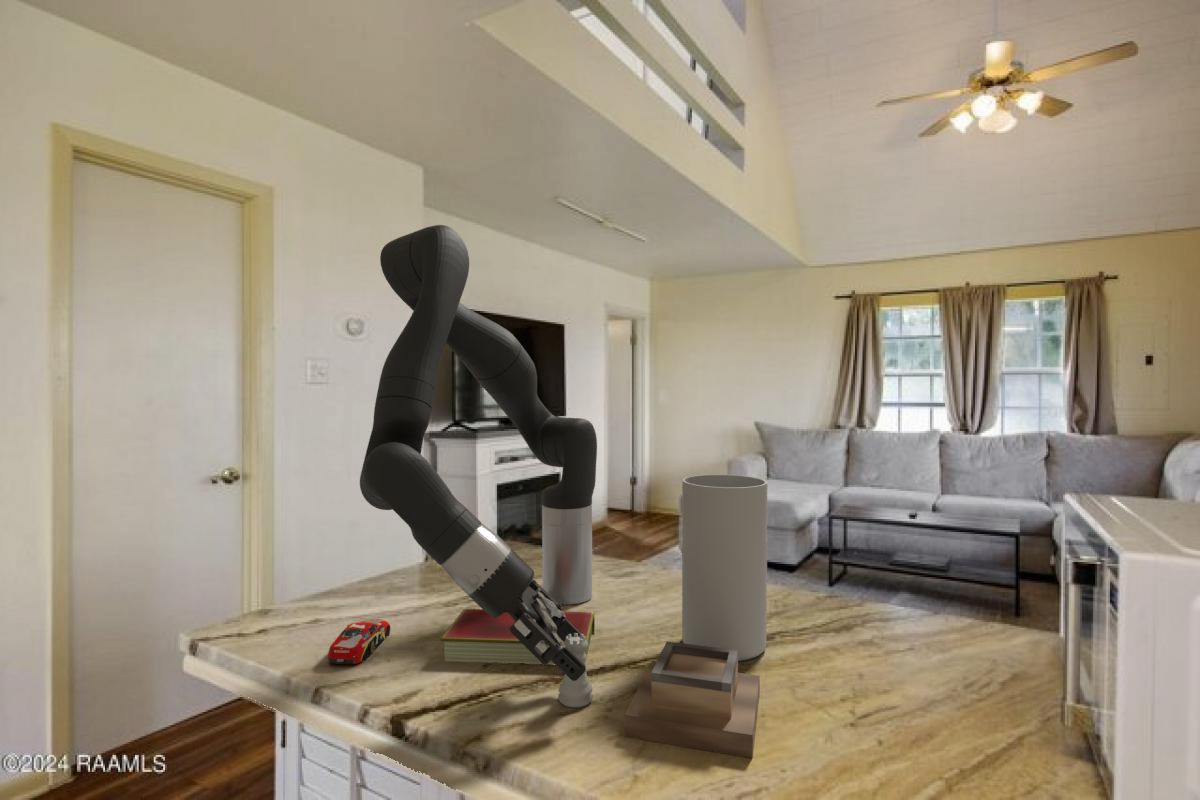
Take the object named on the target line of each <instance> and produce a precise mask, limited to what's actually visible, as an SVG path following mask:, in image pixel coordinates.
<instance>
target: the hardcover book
mask: <svg viewBox="0 0 1200 800" xmlns="http://www.w3.org/2000/svg"><path fill="white" fill-rule="evenodd" d="M561 611H562V612H564V614H565V616H566V617H565V618H564V619H567V620H568V621H569V622H570V623H571V624H572V625H573V626H574V627H575V628H576V629H577V630H578V631H579V632H580V633H582V634H583V635H584V636H585V640H586V641H587V643H588V647H587V648H586V650H585V654H586V655H587V656H589V655H588V653H589V648H590V645H591V644H590V643H591V641H592V640H591V639H592V636H593V635H595V632H596V631H595V626H596V625H595V612H594V611H564V610H561ZM513 624H514V620H513V618H512V617H511V616H510V614H509V613H508V612H504V613H502V614H501V615H500V616H498V617H496V618H492V617H490V616H489V615H488V614H487V613H486V612H485V611H484V610H483V609H482V608H481V609H478V608H477V609H476V608H463V610H461V612H460V613H459V615H458V616H457V617H456V618H455V619H454V621H453V622H452V623H451V624H450V626H449V628H447V630H446V631H445V632H444V634H443V635H442V636H441V637H440V642H443V647H444V648H443V649H444V651H443V652H444V653H443V654H444V661H446V662H448V663H450V662H451V663H452V662H453V663H475V662H479V663H480V662H482V663H483V664H508V663H525V664H524V665H527V664H526V663H529V664H528V665H540V664H542V663H541V662H540V661H539V660H538V659H537V658H536V657H535V656H534V655H533V654H532V653H531V652H530V651H529V650H528V649H527V648H526V647H525V646H524V645H523V644H522V643H521V642H520V641H519V640H518V639H517V638H516V637H515V636H514V635H513V634H512V633H511V631H510V629H509V628H510V627H511V626H512V625H513ZM561 641H562V642H563V643H564V641H563V640H561ZM545 646H546V647H547V648H548V647H549V645H548V644H547V643H546V642H545ZM538 649H539V648H538ZM587 659H588V657H587V658H586V659H585V665H586V664H587V663H586V662H587ZM484 662H485V663H484ZM487 662H488V663H487ZM493 662H494V663H493ZM495 662H497V663H495ZM548 664H554V663H553V662H552V661H551V662H549V663H548Z"/></svg>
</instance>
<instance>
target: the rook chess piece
mask: <svg viewBox="0 0 1200 800" xmlns="http://www.w3.org/2000/svg"><path fill="white" fill-rule="evenodd" d="M564 645H565V646H566V647H567V648H568V649H569V650H571V651H572V652H573V653H574V654H575V655H576V656H577V657H578V658H579V659H580V660H581V661H582V662H583V663H584V664H585V659H586V658H587V659H588V655H586V654H585V650H586V648H587V647H588V643H587V641H586V640H585V636H584V635H583V634H580V637H578V633H574V637H571V634H568V635H567V636H566V638H565V641H564ZM587 659H586V660H587ZM585 665H586V664H585ZM558 692H559V693H558V696H557V699H558V700H559V702H560V703H561V704H562V705H563V706H565V707H566V708H571V709H573V708H574V709H575V708H576V709H579V708H584V707H586V706H588V705H589V704H590V703H591V701H592V700H593V699H594V694H593V685H592V683H591V682H590V678H588V675H587V670H586V671H585V672H584V673H583V674H582V675H581V676H580V677H579V678H578V679H577V680H576V681H572V680H571V679H570V678H569V677H568V676H567V675H566V674H565V673H564V675H563V678H562V679H561V683H560V684H559V686H558Z"/></svg>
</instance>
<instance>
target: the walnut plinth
mask: <svg viewBox="0 0 1200 800" xmlns="http://www.w3.org/2000/svg"><path fill="white" fill-rule="evenodd" d="M760 677H761V676H760V675H758V674H751V673H742V672H739V661H738V650H732V649H724V648H716V647H708V646H700V645H692V644H684V642H681V643H680V642H674V641H667V640H666V642H665V644H664V646H663V648H662V650H661V652H660V654H659V656H658V658H657V660H656V661H651V662H650V665H649V666H648V668H647V670H646V672H645V674H644V676H643V677H642V680H641V682H640V684H639V686H638V688H637V690H636V692H635V694H634V696H633V697H632V699H631V702H630V704H629V706H628V707H627V710H626V712H625V714H624V737H626V738H627V737H628V738H633V739H638V740H644V741H650V742H655V743H662V744H667V745H671V746H672V745H673V746H677V747H678V746H680V747H684V748H690V749H696V750H701V751H702V750H703V751H707V752H713V753H721V754H725V755H731V756H738V757H742V758H747V759H753V757H754V749H755V741H756V740H755V739H756V729H757V721H758V711H759V704H760V693H761V691H760V681H761V680H760V679H761V678H760Z"/></svg>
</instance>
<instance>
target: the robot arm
mask: <svg viewBox="0 0 1200 800" xmlns="http://www.w3.org/2000/svg"><path fill="white" fill-rule="evenodd" d="M379 257H380V260H379V261H380V267H381V270H382V271H381V272H382V274H383V276H384V278H385V279H386V282H387V283H388V284H389V286H390V288H391V290H393V291H394V293H395V295H397V296H398V298H400V299H401V300H402V302H404V304H406V305H407V306H408V307H409V308H410V310H412V313H411V316H410V317H409V319H408V321H407V322H406V324H405V326H404V328H403V329H402V331H401V333H400V334H399V336H398V337H397V339H396V340H395V342H394V344H393V346H392V347H391V349H390V351H389V352H388V355H387V357H386V358H385V361H384V364H383V365H382V366H383V367H382V370H381V373H380V378H379V381H378V382H379V383H378V388H377V392H376V398H375V404H374V411H373V422H372V429H371V433H370V437H369V440H368V443H367V447H366V452H365V456H364V460H363V463H362V468H361V471H360V477H359V487H360V491H361V494H362V496H363V498H364V500H365V501H366V502H367V503H368V504H369V505H370V506H372V507H374V508H376V509H378V510H383V511H391V510H392V511H393V512H395V514H397V516H398V517H399V518H400V519H401V520H402V521H403V522H404V523H405V524H406V525H407V526H408V527H409V528H410V529H409V530H410V531H411V535H412V537H413V539H414V541H415V542H416V543H417V544H418V545H419V546H420V547H421V549H423V551H425V552H426V553H427V555H429V557H430V558H432V559H433V560H434V561H435V562H436V563H437V564H438V566H441V567H440V568H442V569H443V570H444V571H445V573H447V575H448V576H449V578H450V579H451V580H452V582H453V583H455V584H456V586H458V587H459V588H460V589H461V590H462V591H463V592H464V593H465V594H466V595H467V596H469V597H470V599H472V600H473V601H474V603H475V604H477V605H478V607H480V608H481V609H483V610H484V611H485V612H486V613H487V614H488V615H489V616H490V617H492V618H496V617H498V616H500V615H501V614H502V613H504V612H508V613H509V614H510V616H511V617H512V618H513V620H514V624H513V625H512V626H511V627H510V628H509V629H510V631H511V633H512V634H513V635H514V636H515V637H516V638H517V639H518V640H519V641H520V642H521V643H522V644H523V645H524V646H525V647H526V648H527V649H528V650H529V651H530V652H531V653H532V654H533V655H534V656H535V657H536V658H537V659H538V660H539V661H540V662H541V663H542V664H543V666H548V665H547V664H548V663H549V662H551V661H552V662H553V663H554V664H555V665H554V666H556V667H557V668H559V670H560V671H561V672H563V673H564V675H565V674H566V675H567V676H568V677H569V678H570V679H571V680H572V681H576V680H577V679H578V678H579V677H580V676H581V675H582V674H583V673H584V672H585V671H586V672H587V667H586V664H584V663H583V662H582V661H581V660H580V659H579V658H578V657H577V656H576V655H575V654H574V653H573V652H572V651H571V650H569V649H568V648H567V647H566V646H565V645H564V643H563V642H562V641H561V640H563V641H565V638H566V636H567V635H568V634H571V637H574V633H578V637H580V634H582V633H580V632H579V631H578V630H577V629H576V628H575V627H574V626H573V625H572V624H571V623H570V622H569V621H568V620H567V619H564V618H565V617H566V616H565V614H564V612H562V611H563V607H562V605H574V604H575V605H576V604H582V603H584V602H585V603H586V602H587V601H590V600H591V599H592V597H593V494H594V491H595V487H596V479H597V478H596V475H597V473H596V472H597V456H598V440H597V439H598V438H597V433H596V430H595V427H594V425H593V424H592V423H591V421H589V419H585V418H581V417H561V416H560V417H559V416H555V415H554V414H552V412H550V410H549V409H548V408H547V407H546V406H545V405H544V404H543V402H542V401H541V399H540V398H539V396H538V374H537V369H536V365H535V363H534V360H532V358H531V357H530V355H529V354H528V352H527V351H526V349H524V346H523V345H522V344H521V343H520V341H519V340H518V339H517V338H516V337H515V336H514V334H513V333H511V331H509V330H508V329H507V328H504V327H503V326H501V325H500V324H499V323H496V322H495V321H492V320H491V319H489V318H487V317H485V316H483V315H481V314H480V313H477V312H475V311H473V309H470V308H468V307H467V306H465V305H464V304H463V303H461V300H462V299H461V298H462V296H463V294H464V290H465V287H466V284H467V281H468V277H469V271H470V257H469V251H468V249H467V246H466V243H465V242H464V240H463V238H462V237H461V235H460V234H459V233H458V232H457V231H456V230H454V229H453V228H452V227H451V226H448V225H444V224H437V225H431V226H427V227H423V228H421V229H419V230H416V231H413V232H410V233H408V234H405V235H402V236H399V237H397V238H395V239H393V240H390V241H389V242H387V243H386V244H384V246H383V247H382V249H381V252H380V256H379ZM445 346H448V348H449V349H450V350H452V352H453V353H454V354H455V355H456V357H458V359H459V360H460V361H461V362H462V364H463V365H465V367H466V368H467V370H468V371H469V372H470V373H471V375H472V376H473V377H474V378H475V380H476V381H477V382H478V383H479V384H480V385H481V387H482V388H483V390H485V391H486V393H487V394H488V395H490V397H491V398H492V399H493V400H494V402H495V403H496V405H498V407H500V409H501V410H502V411H503V413H504V414H505V415H506V416H507V417H508V419H509V420H510V421H511V422H512V423H513V425H514V427H516V429H517V430H518V432H519V434H520V435H521V437H522V439H523V440H524V442H525V443H526V445H527V446H528V448H529V449H530V451H531V452H532V454H533V456H535V458H536V459H537V460H538V461H539V462H541V463H542V464H544V465H546V466H549V467H555V468H562V471H561V472H562V473H561V479H560V481H559V482H558V483H556V484H553V485H550V486H547V487H545V488H544V489H543V490H542V494H541V516H542V517H541V520H542V522H541V524H542V527H541V528H542V529H541V530H542V531H541V532H542V534H541V535H542V536H541V538H542V539H541V541H542V542H541V543H542V545H541V546H542V555H541V556H542V559H541V560H542V568H541V569H542V580H541V581H542V586H541V585H540V584H539V583H538V581H536V580H535V579H534V576H535V571H534V569H533V568H532V567H531V566H530V565H529V564H528V563H527V562H526V561H525V560H524V559H523V558H522V557H521V556H520V555H519V554H518V553H516V552H515V551H514V550H513V548H511V547H510V546H509V545H508V544H507V543H506V541H504V540H503V539H502V538H501V537H500V536H499V535H498V534H496V533H495V532H494V531H493V530H492V529H490V528H489V527H487V526H486V525H485V524H484V523H482V522H481V520H479V518H477V517H476V515H475V514H473V512H471V511H470V510H469V509H468V508H467V507H466V506H465V505H464V504H463V503H462V502H460V501H459V500H458V499H457V498H456V497H455V496H454V494H453V493H452V491H451V490H450V488H449V487H448V485H447V483H445V481H444V480H443V479H442V478H441V476H440V475H439V473H438V472H437V470H435V468H434V467H433V466H432V464H431V463H430V462H429V461H428V460H427V459H426V458H425V457H424V456H423V455H422V449H423V441H424V437H425V434H426V432H427V430H428V427H429V424H430V421H431V417H432V411H433V406H434V405H433V404H434V399H435V393H436V386H437V379H438V375H439V369H440V364H441V360H442V356H443V353H444V349H445ZM545 642H546V643H547V644H548V645H549V647H548V648H547V647H546V646H545ZM538 648H539V649H538Z"/></svg>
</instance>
